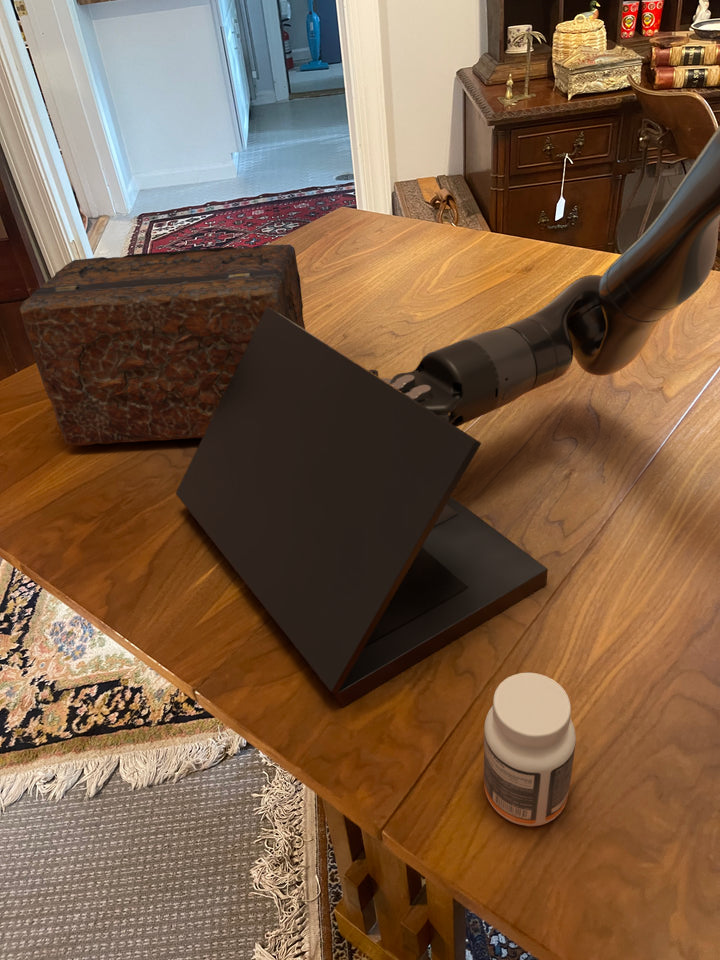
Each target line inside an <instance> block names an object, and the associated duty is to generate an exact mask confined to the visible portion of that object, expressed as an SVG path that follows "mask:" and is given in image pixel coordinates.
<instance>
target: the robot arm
mask: <svg viewBox="0 0 720 960" xmlns="http://www.w3.org/2000/svg"><path fill="white" fill-rule="evenodd" d="M719 227H720V125H719V126H718V127H717V129H716V130H715V132H713V134H712V136H711V137H710V138H709V140H708V141H707V143H706V144H705V146H704V147H703V148H702V150H701V151H700V152H699V154H698V155H697V157H696V158H695V159H694V161H693V162H692V164H691V165H690V167H689V169H688V170H687V171H686V173H685V175H684V176H683V178H681V180H680V182H679V184H678V185H677V187H676V188H675V189H674V191H673V192H672V194H671V195H670V197H669V199H668V200H667V202H666V203H665V205H664V206H663V207H662V209H661V210H660V212H659V213H658V215H657V216H656V217H655V219H654V220H653V221H652V222H651V223H650V225H649V226H648V227H647V228H646V229H645V230H644V231H643V232H642V234H640V236H639V237H638V238H637V239H636V240H635V241H634V242H633V243H632V244H631V245H630V246H629V247H628V248H627V249H625V251H624V252H622V254H620V255H619V256H618V258H616V259H615V260H614V262H612V264H611V265H610V266H609V267H608V268H607V269H606V270H605V271H604V272H603V274H602V275H598V274H588V275H584V276H581V277H579V278H577V279H575V280H574V281H573V282H571V283H570V284H569V285H568V286H566V287H565V288H564V289H563V290H562V291H560V293H558V294H557V295H556V296H555V297H554V298H553V299H552V300H551V301H549V303H547V304H546V305H545V306H542V308H540V309H539V310H537V311H536V312H534V313H532V314H530V315H529V316H526V317H524V318H522V319H520V320H517V321H515V322H512V323H509V324H506V325H504V326H502V327H499V328H495V329H491V330H487V331H483V332H480V333H477V334H474V335H472V336H469V337H467V338H464V339H461V340H459V341H456V342H453V343H451V344H449V345H446V346H444V347H440V348H439V349H436V350H433V351H431V352H429V353H427V354H425V355H424V356H423V357H422V358H421V360H420V361H419V363H418V365H417V366H416V368H415V369H414V370H413V371H409V372H401V373H397V374H395V375H393V377H392V378H387V377H379V371H378V370H376V369H370V370H368V371H370V372H371V373H373V374H375V375H376V376H378V377H379V378H381V379H382V380H384V381H385V382H387V383H389V384H390V385H392V386H393V387H395V388H396V389H398V390H399V391H401V392H403V393H404V394H406V395H407V396H409V397H410V398H412V399H414V400H415V401H417V402H418V403H420V404H421V405H423V406H424V407H426V408H428V409H429V410H431V411H432V412H434V413H435V414H437V415H438V416H440V417H442V418H443V419H445V420H446V421H448V422H449V423H451V424H452V425H454V426H456V427H457V428H458V427H460V426H462V425H464V424H467V423H469V422H471V421H474V420H476V419H478V418H480V417H482V416H485V415H487V414H489V413H491V412H494V411H496V410H497V409H500V408H502V407H505V406H506V405H508V404H510V403H512V402H515V401H516V400H517V399H519V398H520V397H522V396H523V395H525V394H527V393H529V392H531V391H534V390H536V389H538V388H541V387H542V386H545V385H548V384H550V383H552V382H554V381H557V380H558V379H560V378H561V377H563V376H564V375H565V374H566V373H567V372H568V371H569V369H570V368H571V366H572V362H573V358H574V359H575V361H576V363H577V364H578V366H579V367H580V368H581V370H583V371H584V372H585V373H587V374H589V375H592V376H597V377H604V376H610V375H613V374H616V373H618V372H620V371H622V370H623V369H625V368H626V367H627V366H629V365H630V364H631V363H632V362H633V361H634V360H635V359H636V358H637V357H638V356H639V355H640V353H641V352H642V350H643V349H644V348H645V346H646V344H647V343H648V341H649V339H650V338H651V336H652V334H653V332H654V330H655V329H656V327H657V326H658V324H659V323H660V321H661V320H662V319H663V318H664V317H666V316H667V315H669V313H671V312H673V311H674V310H675V309H677V308H678V307H679V306H681V305H682V304H683V303H684V302H686V301H687V300H689V299H690V298H691V297H692V296H693V295H694V294H695V293H696V292H698V290H700V288H701V287H702V286H703V284H704V283H705V282H706V280H707V279H708V277H709V275H710V273H711V272H712V270H713V269H712V268H713V267H714V264H715V262H716V257H717V256H716V255H717V249H718V243H719V242H718V239H719Z"/></svg>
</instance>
